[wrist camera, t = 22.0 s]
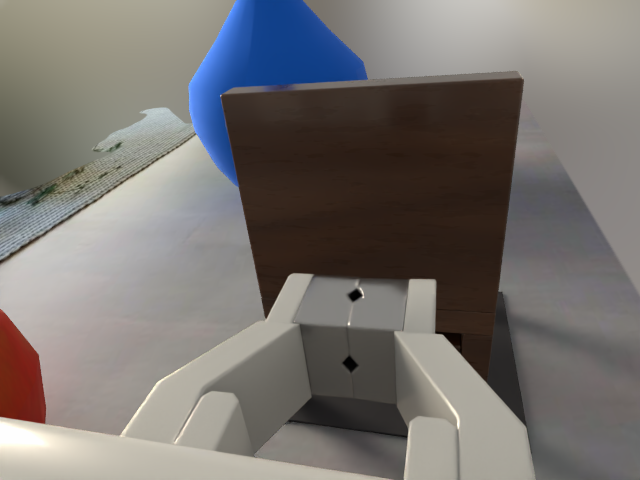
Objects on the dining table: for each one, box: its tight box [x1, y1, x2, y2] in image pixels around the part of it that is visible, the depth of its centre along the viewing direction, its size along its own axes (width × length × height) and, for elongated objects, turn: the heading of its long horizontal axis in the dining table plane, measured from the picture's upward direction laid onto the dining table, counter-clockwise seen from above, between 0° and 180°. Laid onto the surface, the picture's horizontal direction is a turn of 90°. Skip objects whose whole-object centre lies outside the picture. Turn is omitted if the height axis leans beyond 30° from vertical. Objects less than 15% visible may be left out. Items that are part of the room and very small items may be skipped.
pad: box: [288, 292, 531, 451], centre depth 27 cm, size 12×12×1 cm
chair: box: [220, 71, 524, 383], centre depth 23 cm, size 10×10×16 cm
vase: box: [189, 0, 368, 187], centre depth 43 cm, size 18×18×30 cm
